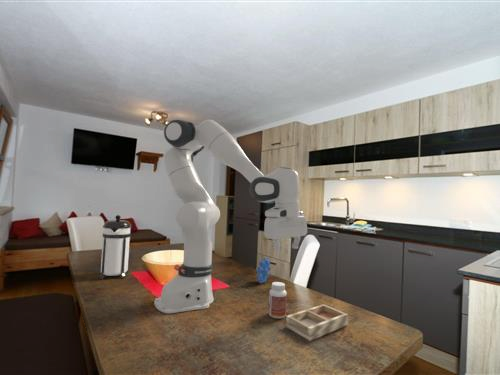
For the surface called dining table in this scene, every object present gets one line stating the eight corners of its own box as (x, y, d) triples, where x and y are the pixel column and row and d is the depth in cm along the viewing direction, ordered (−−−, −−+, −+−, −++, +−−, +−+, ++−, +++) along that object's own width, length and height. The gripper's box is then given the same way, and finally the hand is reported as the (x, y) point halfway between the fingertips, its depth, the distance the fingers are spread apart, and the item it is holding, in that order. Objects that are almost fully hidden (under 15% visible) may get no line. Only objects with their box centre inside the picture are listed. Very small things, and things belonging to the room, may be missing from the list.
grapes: (261, 278, 138) (262, 255, 138) (273, 280, 134) (274, 257, 135) (249, 283, 128) (250, 258, 128) (261, 286, 124) (263, 260, 125)
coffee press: (138, 274, 134) (142, 215, 135) (107, 282, 120) (112, 216, 122) (119, 268, 143) (122, 213, 145) (88, 275, 130) (92, 214, 131)
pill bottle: (289, 316, 93) (290, 285, 94) (276, 320, 90) (277, 287, 90) (278, 310, 98) (279, 280, 99) (265, 313, 95) (266, 282, 95)
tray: (310, 340, 77) (310, 328, 78) (286, 326, 85) (286, 315, 86) (347, 324, 89) (347, 314, 89) (323, 313, 97) (323, 304, 97)
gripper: (298, 211, 106) (297, 245, 105) (261, 211, 92) (261, 251, 91) (311, 211, 101) (311, 248, 100) (274, 212, 87) (274, 254, 87)
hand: (286, 249), depth 96 cm, fingers open, 8 cm apart
